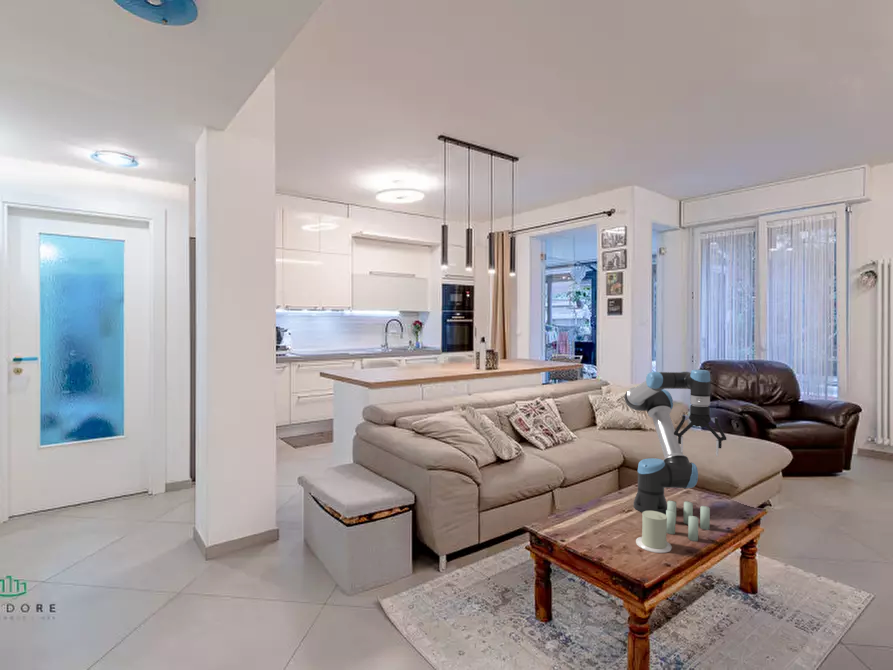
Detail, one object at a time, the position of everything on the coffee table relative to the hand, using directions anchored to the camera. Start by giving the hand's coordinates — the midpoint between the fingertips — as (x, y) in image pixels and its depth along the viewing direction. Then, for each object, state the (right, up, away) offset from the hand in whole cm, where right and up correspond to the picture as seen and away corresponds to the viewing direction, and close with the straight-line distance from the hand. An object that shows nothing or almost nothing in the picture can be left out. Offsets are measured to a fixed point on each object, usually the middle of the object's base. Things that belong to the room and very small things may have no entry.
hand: (699, 453), depth 205 cm
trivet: (-28, -32, -18) cm, 46 cm away
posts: (-7, -32, -5) cm, 33 cm away
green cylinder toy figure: (-28, -31, -19) cm, 46 cm away
